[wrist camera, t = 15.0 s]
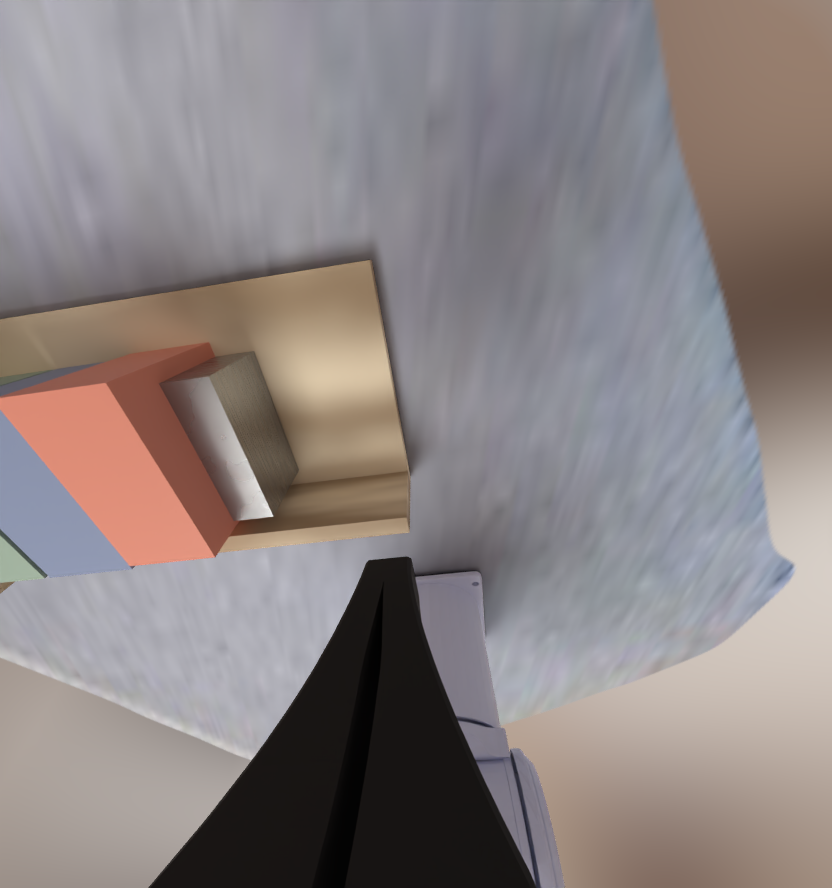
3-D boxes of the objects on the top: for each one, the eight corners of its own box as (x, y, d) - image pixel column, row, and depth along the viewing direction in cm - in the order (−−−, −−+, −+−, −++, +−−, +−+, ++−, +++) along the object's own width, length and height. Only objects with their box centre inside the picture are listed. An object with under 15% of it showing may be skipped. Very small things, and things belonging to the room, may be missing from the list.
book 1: (206, 487, 20) (132, 569, 15) (144, 495, 20) (50, 577, 15) (133, 357, 16) (-5, 404, 11) (57, 368, 16) (-113, 419, 11)
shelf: (410, 477, 20) (409, 565, 15) (86, 514, 22) (-36, 609, 16) (371, 260, 15) (343, 259, 9) (-67, 330, 16) (-349, 370, 10)
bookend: (299, 470, 19) (273, 516, 16) (266, 474, 19) (233, 521, 16) (254, 351, 16) (208, 376, 12) (214, 356, 16) (158, 383, 12)
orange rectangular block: (268, 477, 20) (215, 557, 14) (205, 485, 20) (129, 566, 15) (209, 341, 16) (105, 382, 10) (130, 353, 16) (-9, 399, 11)
